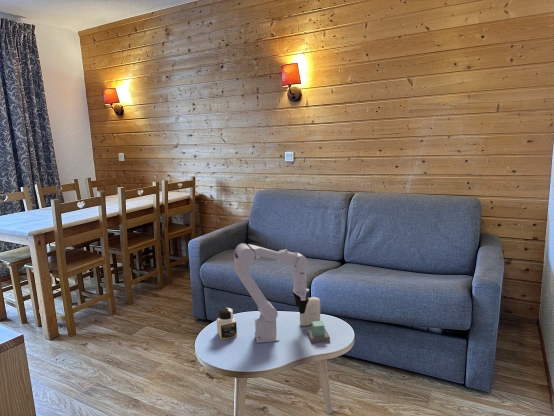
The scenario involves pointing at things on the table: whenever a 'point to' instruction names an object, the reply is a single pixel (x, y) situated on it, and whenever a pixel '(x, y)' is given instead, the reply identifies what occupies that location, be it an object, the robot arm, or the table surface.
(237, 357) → the table surface
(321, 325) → the cube
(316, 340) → the base
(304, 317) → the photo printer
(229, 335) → the medicine bottle
